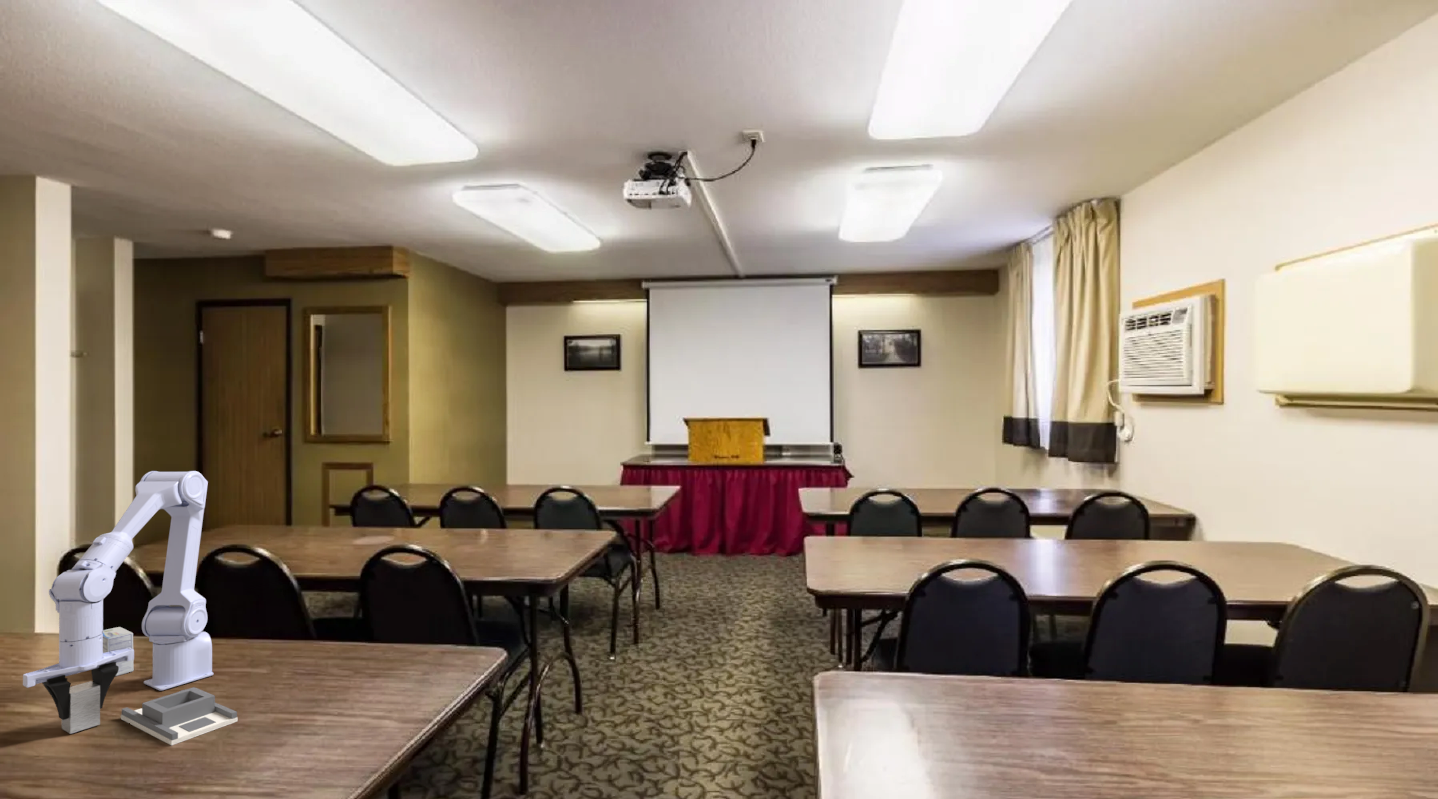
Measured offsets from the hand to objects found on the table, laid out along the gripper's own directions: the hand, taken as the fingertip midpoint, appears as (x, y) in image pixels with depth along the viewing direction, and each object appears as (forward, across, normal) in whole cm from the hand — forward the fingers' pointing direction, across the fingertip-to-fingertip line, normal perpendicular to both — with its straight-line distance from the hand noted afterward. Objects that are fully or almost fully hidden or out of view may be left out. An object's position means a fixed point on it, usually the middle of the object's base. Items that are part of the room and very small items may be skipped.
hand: (80, 712), depth 120 cm
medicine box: (+3, +14, +28) cm, 31 cm away
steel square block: (+2, 0, 0) cm, 2 cm away
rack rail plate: (+3, +10, -12) cm, 16 cm away
